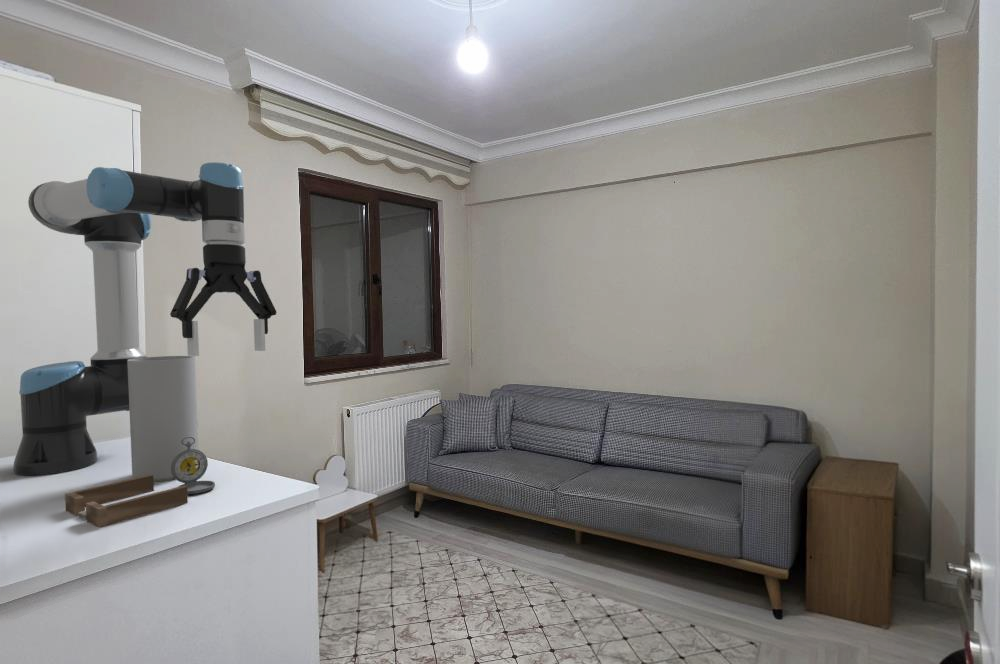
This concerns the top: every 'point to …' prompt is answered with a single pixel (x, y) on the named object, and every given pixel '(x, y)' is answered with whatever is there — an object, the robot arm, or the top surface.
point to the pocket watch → (191, 469)
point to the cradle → (123, 509)
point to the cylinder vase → (161, 413)
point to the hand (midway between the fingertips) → (228, 353)
